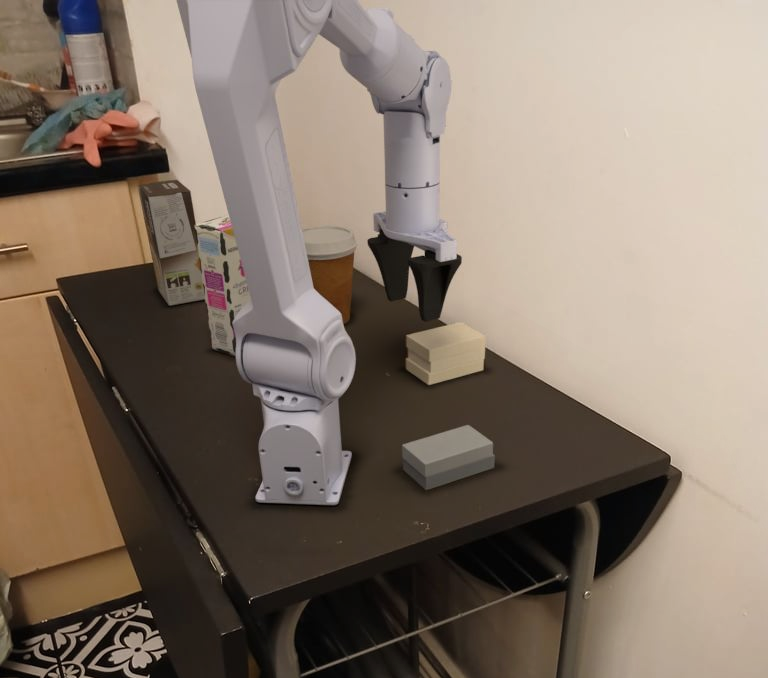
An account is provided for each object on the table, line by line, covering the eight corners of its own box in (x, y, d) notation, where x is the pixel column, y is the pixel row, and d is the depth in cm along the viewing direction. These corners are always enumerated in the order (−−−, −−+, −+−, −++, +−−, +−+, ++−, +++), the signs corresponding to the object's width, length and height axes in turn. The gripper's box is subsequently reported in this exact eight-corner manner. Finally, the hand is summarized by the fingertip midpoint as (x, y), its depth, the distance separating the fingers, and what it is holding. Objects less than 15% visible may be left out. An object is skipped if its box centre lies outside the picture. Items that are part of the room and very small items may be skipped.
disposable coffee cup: (336, 336, 108) (331, 248, 102) (281, 324, 113) (272, 239, 106) (373, 314, 115) (370, 229, 108) (320, 303, 119) (313, 221, 112)
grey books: (469, 448, 82) (470, 423, 81) (494, 467, 79) (496, 441, 77) (401, 470, 79) (401, 444, 77) (425, 491, 76) (425, 464, 74)
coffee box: (209, 299, 122) (192, 190, 113) (168, 307, 120) (147, 196, 111) (195, 282, 129) (177, 178, 120) (156, 289, 127) (135, 183, 118)
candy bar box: (239, 358, 103) (220, 230, 94) (211, 350, 106) (190, 224, 96) (293, 330, 111) (281, 208, 101) (266, 323, 113) (252, 204, 104)
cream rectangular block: (460, 332, 100) (460, 321, 99) (485, 347, 96) (485, 335, 95) (405, 346, 97) (405, 334, 96) (429, 362, 93) (429, 350, 92)
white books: (459, 355, 102) (460, 332, 100) (484, 370, 98) (485, 347, 96) (405, 369, 99) (405, 346, 97) (428, 385, 95) (428, 362, 93)
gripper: (483, 190, 79) (478, 321, 86) (410, 166, 89) (411, 285, 97) (422, 200, 76) (423, 334, 84) (355, 174, 87) (360, 295, 94)
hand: (413, 308), depth 90 cm, fingers open, 7 cm apart
